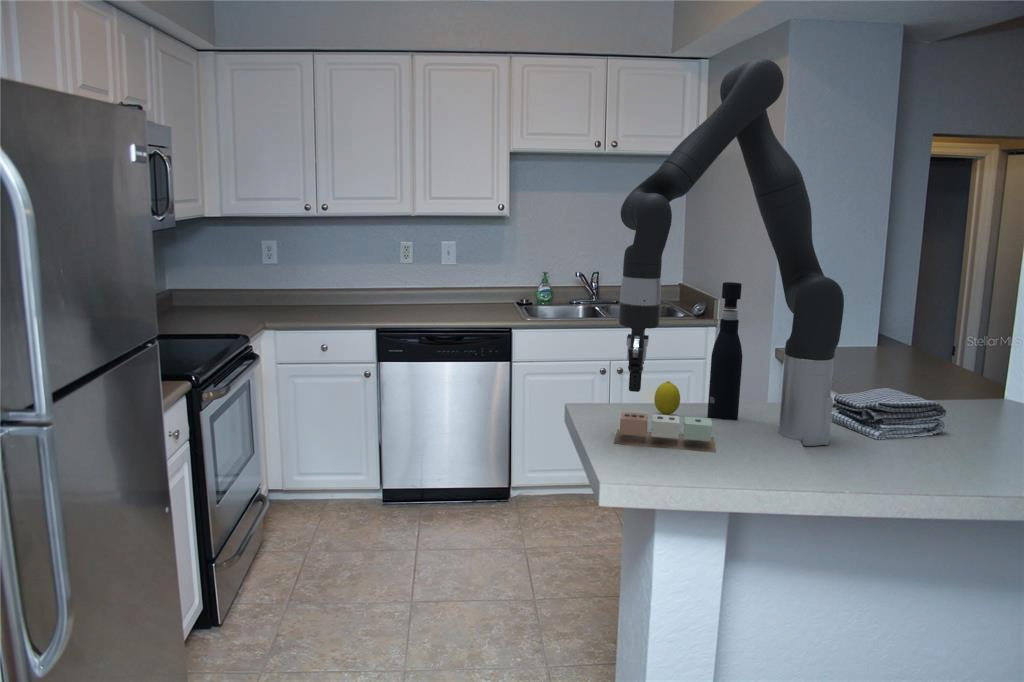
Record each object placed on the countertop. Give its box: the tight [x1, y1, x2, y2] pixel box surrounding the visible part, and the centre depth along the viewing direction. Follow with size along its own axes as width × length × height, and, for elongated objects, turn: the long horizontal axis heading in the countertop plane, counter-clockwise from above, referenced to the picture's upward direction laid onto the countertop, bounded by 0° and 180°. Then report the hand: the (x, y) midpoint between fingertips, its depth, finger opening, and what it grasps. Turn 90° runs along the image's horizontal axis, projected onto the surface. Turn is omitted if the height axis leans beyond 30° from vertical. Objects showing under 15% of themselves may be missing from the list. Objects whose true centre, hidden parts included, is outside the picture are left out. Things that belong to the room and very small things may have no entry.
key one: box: [683, 416, 713, 441], centre depth 152 cm, size 5×5×3 cm
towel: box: [831, 387, 947, 440], centre depth 171 cm, size 15×18×8 cm
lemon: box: [653, 380, 681, 416], centre depth 175 cm, size 6×6×8 cm
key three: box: [619, 411, 649, 436], centre depth 154 cm, size 5×5×3 cm
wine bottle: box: [706, 281, 743, 421], centre depth 171 cm, size 6×6×30 cm
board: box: [612, 428, 717, 453], centre depth 155 cm, size 19×10×1 cm, turn 78°
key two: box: [651, 413, 680, 439], centre depth 153 cm, size 5×5×3 cm
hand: (634, 390), depth 153 cm, fingers closed
